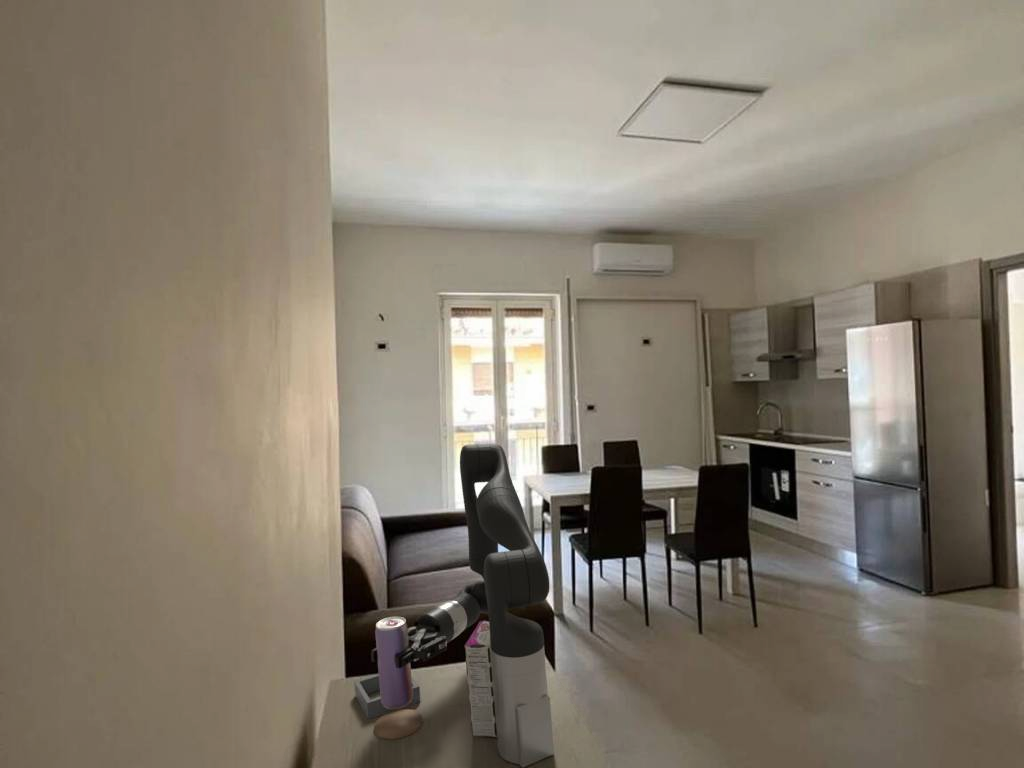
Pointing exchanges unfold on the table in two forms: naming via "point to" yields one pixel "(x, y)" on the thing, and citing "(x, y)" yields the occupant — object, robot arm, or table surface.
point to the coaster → (398, 724)
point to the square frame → (375, 705)
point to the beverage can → (393, 663)
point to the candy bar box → (481, 682)
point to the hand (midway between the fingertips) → (384, 660)
